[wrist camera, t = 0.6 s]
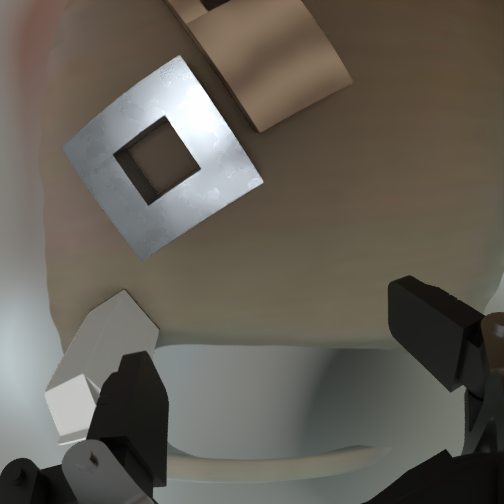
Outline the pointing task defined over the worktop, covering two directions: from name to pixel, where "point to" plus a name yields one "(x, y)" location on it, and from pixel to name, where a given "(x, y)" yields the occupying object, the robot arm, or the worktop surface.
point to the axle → (213, 3)
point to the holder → (132, 179)
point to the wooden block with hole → (265, 55)
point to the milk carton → (96, 362)
